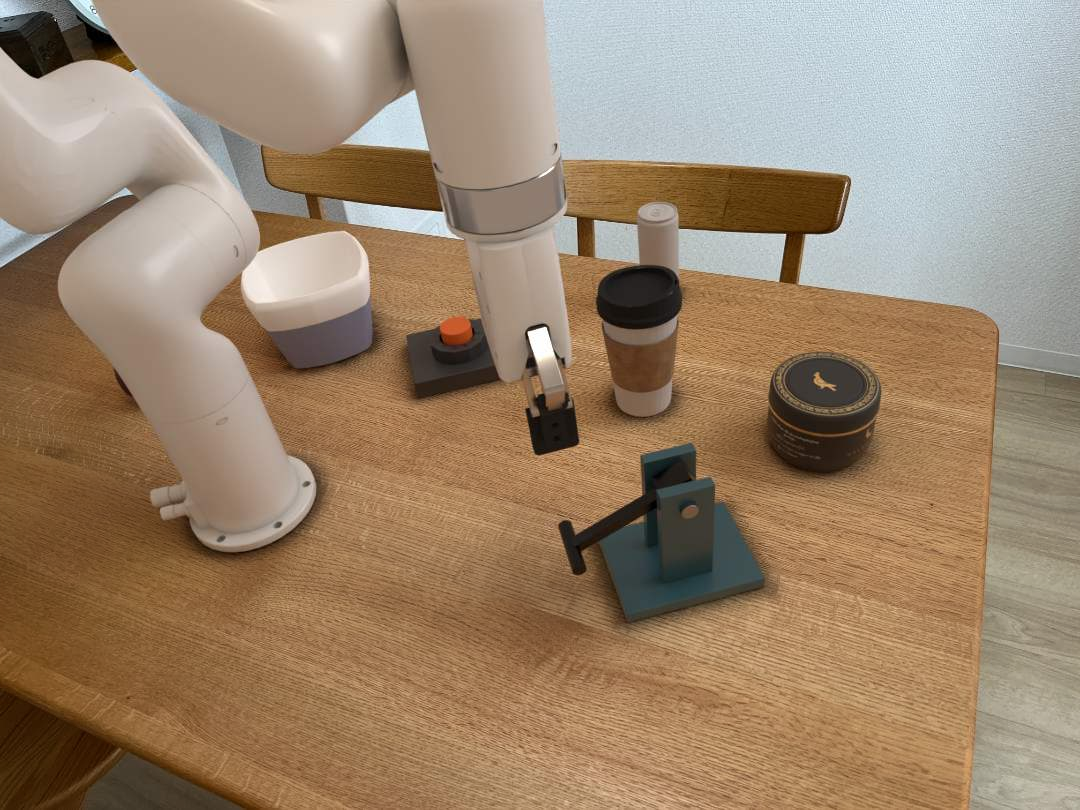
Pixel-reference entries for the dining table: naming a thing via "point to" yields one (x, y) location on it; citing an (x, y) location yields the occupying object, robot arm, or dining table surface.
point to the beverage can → (658, 235)
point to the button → (456, 331)
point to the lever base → (678, 546)
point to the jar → (822, 410)
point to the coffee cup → (640, 335)
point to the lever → (618, 517)
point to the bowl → (312, 297)
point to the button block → (450, 361)
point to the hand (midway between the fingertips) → (540, 404)
